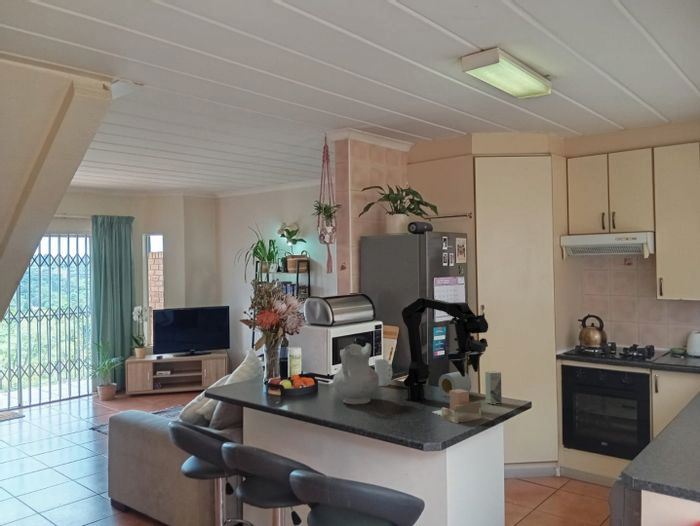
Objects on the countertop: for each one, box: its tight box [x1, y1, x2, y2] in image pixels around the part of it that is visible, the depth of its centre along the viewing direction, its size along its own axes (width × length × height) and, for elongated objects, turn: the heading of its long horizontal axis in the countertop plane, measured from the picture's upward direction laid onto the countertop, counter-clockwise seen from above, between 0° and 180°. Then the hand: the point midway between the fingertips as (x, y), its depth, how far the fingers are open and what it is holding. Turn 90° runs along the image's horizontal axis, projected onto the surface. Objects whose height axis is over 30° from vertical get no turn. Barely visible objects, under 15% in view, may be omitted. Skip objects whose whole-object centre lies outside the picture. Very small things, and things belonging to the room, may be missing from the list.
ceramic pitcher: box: [332, 342, 379, 405], centre depth 232 cm, size 22×20×25 cm
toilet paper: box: [437, 371, 472, 397], centre depth 239 cm, size 10×10×10 cm
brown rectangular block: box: [449, 389, 470, 410], centre depth 202 cm, size 5×5×10 cm
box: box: [484, 370, 503, 405], centre depth 223 cm, size 5×4×13 cm
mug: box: [374, 358, 393, 387], centre depth 265 cm, size 10×7×12 cm, turn 45°
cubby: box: [441, 400, 482, 424], centre depth 201 cm, size 8×12×6 cm, turn 120°
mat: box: [431, 409, 442, 417], centre depth 209 cm, size 8×8×1 cm
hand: (470, 374), depth 214 cm, fingers open, 9 cm apart
